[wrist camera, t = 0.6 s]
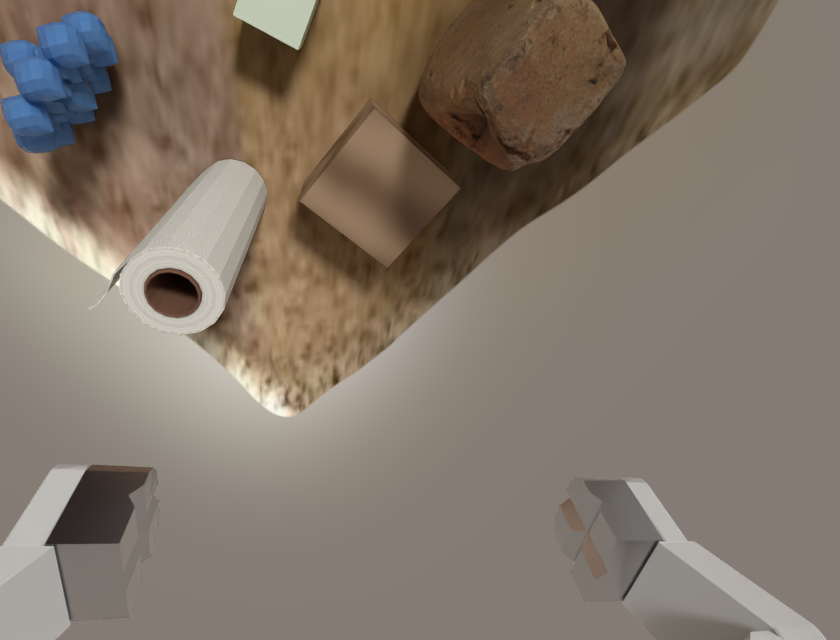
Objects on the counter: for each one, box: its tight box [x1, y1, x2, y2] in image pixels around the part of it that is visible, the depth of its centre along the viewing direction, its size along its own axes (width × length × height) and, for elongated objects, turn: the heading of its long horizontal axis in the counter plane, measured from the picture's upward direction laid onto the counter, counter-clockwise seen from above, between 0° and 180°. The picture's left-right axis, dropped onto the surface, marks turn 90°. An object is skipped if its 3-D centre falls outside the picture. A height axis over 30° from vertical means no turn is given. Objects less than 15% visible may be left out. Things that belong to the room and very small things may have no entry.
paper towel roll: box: [88, 159, 267, 335], centre depth 39 cm, size 7×6×21 cm
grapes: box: [0, 11, 118, 153], centre depth 37 cm, size 12×7×12 cm, turn 140°
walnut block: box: [300, 99, 461, 268], centre depth 47 cm, size 10×10×6 cm
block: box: [418, 0, 626, 171], centre depth 37 cm, size 11×8×20 cm
